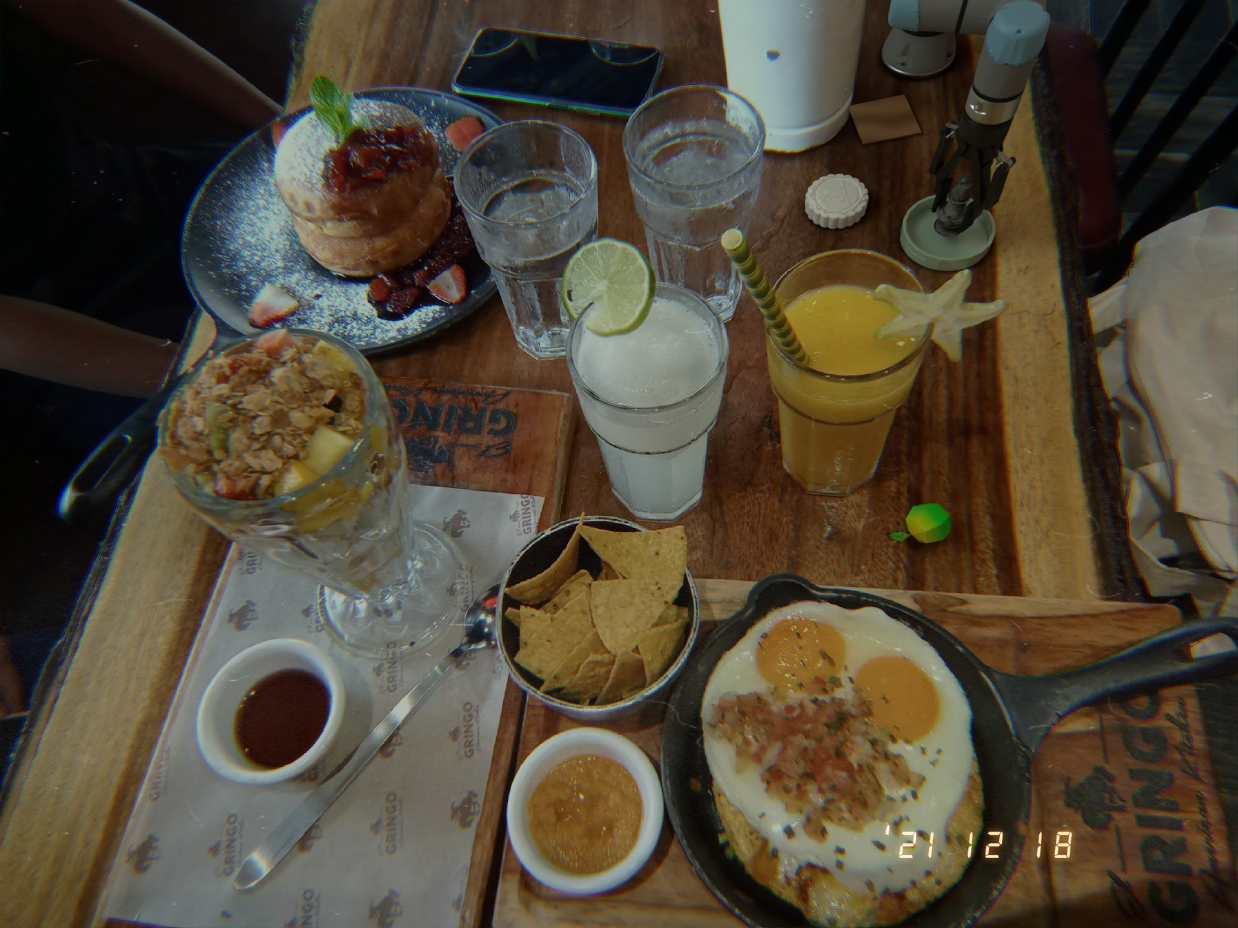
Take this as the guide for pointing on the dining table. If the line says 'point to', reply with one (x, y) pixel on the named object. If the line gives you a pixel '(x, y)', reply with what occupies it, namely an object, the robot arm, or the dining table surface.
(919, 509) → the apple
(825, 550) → the dining table surface
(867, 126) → the coaster
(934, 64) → the robot arm
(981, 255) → the green round tray
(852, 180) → the mooncake
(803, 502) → the dining table surface
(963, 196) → the grey chess piece
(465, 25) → the dining table surface
